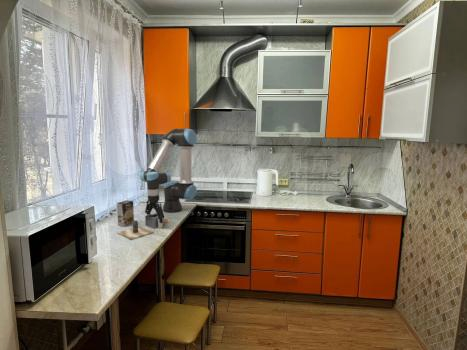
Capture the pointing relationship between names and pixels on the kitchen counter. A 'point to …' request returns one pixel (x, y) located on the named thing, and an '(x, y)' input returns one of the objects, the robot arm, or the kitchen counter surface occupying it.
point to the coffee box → (125, 213)
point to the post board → (136, 235)
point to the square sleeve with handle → (153, 220)
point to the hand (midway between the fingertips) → (154, 225)
